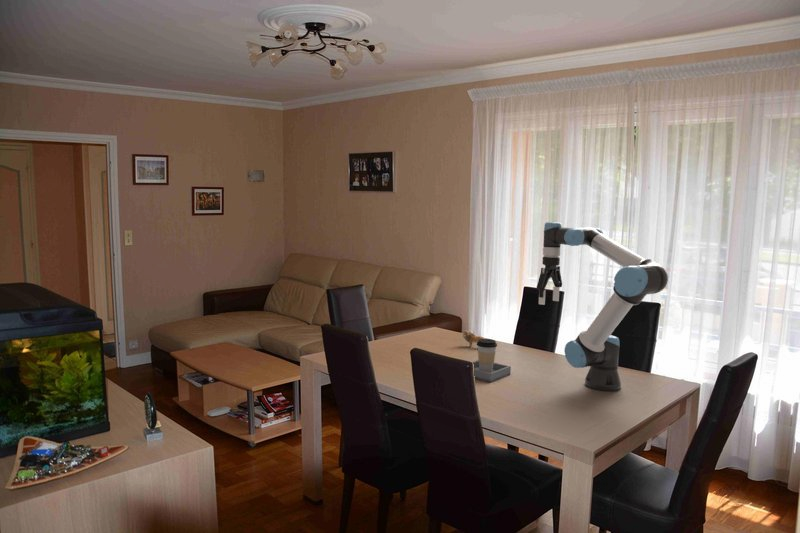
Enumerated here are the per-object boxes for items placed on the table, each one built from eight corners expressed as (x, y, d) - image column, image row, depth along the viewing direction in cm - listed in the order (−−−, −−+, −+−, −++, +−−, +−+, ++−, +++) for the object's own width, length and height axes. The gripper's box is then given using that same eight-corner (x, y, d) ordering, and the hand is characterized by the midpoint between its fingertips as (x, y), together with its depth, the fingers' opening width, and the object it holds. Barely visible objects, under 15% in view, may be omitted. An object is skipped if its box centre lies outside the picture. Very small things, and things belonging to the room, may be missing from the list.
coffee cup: (495, 370, 285) (496, 338, 283) (496, 375, 275) (497, 343, 274) (475, 369, 286) (476, 337, 284) (475, 374, 276) (476, 342, 275)
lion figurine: (461, 347, 331) (461, 331, 330) (464, 345, 336) (464, 329, 335) (487, 350, 325) (488, 334, 324) (489, 348, 330) (490, 332, 329)
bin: (510, 374, 281) (510, 366, 281) (490, 382, 269) (490, 373, 268) (479, 367, 292) (480, 359, 292) (459, 374, 280) (459, 366, 279)
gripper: (556, 254, 285) (553, 298, 287) (530, 257, 266) (527, 304, 269) (571, 255, 280) (568, 300, 283) (545, 258, 261) (543, 307, 264)
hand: (548, 302), depth 276 cm, fingers open, 13 cm apart
